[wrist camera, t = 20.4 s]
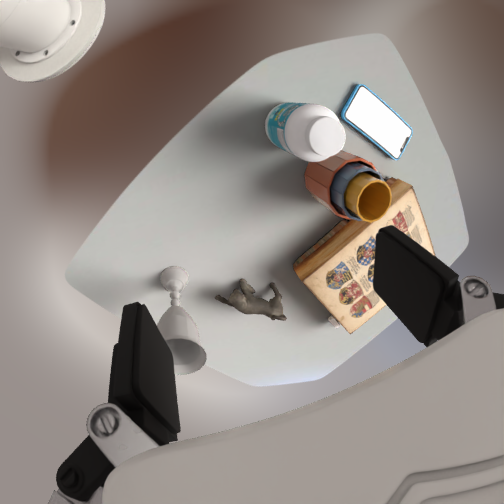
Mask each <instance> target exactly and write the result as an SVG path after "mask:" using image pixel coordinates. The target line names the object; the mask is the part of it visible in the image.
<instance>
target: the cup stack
mask: <svg viewBox="0 0 504 504" xmlns="http://www.w3.org/2000/svg"><path fill="white" fill-rule="evenodd" d="M359 172H366V173H368V174H370V175H372V176H374V177H376V178H378V179H380V180H382V181H384V179H383V177H382V175H381V174H380V173H379V172H377V170H376V168H375V167H374V165H373V164H372V163H371V162H369V161H367V160H364V159H362V158H360V157H358V156H355V155H352V154H350V153H347V152H345V151H342V150H340V151H339V152H338V153H337V154H335V155H333V156H330V157H329V158H327V159H325V160H323V161H319V162H309V163H308V165H307V168H306V171H305V174H304V175H305V184H306V189H307V190H308V191H309V192H310V194H311V195H312V196H313V198H315V199H316V200H317V201H319V202H320V203H321V204H322V205H324V206H325V207H326V208H328V209H329V210H330V211H331V212H333V213H334V214H335V215H336V216H339V217H342V218H345V219H348V220H350V219H354V220H357V221H362V219H360V218H359V217H357V216H356V215H355V214H353V213H352V212H351V211H349V210H348V209H346V208H345V207H344V192H345V190H346V187H347V185H348V183H349V181H350V180H351V179H352V178H353V177H354V176H355V175H357V174H358V173H359ZM384 182H385V181H384Z"/></svg>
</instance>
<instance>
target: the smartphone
mask: <svg viewBox="0 0 504 504" xmlns="http://www.w3.org/2000/svg"><path fill="white" fill-rule="evenodd" d="M341 118H342V119H343V120H344V121H345V122H347V123H348V124H350V125H351V126H352V127H354V128H355V129H356V130H357V131H359V132H360V133H361V134H363V135H364V136H365V137H367V138H368V139H369V140H370V141H372V142H373V143H374V144H375V145H376V146H378V147H379V148H380V149H381V150H383V151H384V152H385V153H386V154H387V155H388V156H390V157H391V158H392V159H394V160H398V159H400V157H401V155H402V153H403V151H404V149H405V148H406V146H407V144H408V142H409V140H410V138H411V136H412V134H413V130H412V128H411V127H410V126H409V125H408V124H407V123H406V122H405V121H404V120H403V119H402V118H401V117H400V116H399V115H398V114H397V113H396V112H395V111H394V110H393V109H391V108H390V107H389V106H388V105H387V104H386V103H385V102H384V101H383V100H382V99H380V98H379V97H378V96H377V95H376V94H375V93H374V92H372V91H371V90H370V89H369V88H368V87H366V86H365V85H363V84H358V85H357V86H356V87H355V89H354V90H353V92H352V94H351V96H350V97H349V99H348V101H347V103H346V105H345V106H344V108H343V110H342V112H341Z"/></svg>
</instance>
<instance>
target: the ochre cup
mask: <svg viewBox="0 0 504 504" xmlns="http://www.w3.org/2000/svg"><path fill="white" fill-rule="evenodd" d="M391 199H392V194H391V189H390V187H389V186H388V184H387V183H386V182H384V181H382V180H380V179H378V178H376V177H374V176H372V175H370V174H368V173H366V172H359V173H358V174H357V175H355V176H354V177H353V178H352V179H351V180H350V181H349V183H348V185H347V187H346V190H345V192H344V207H345V208H346V209H348V210H349V211H351V212H352V213H353V214H355V215H356V216H357V217H359V218H360V219H362V220H363V221H366V222H370V223H371V222H374V221H378V220H379V219H381V218H382V217H383V216H384V215H385V214H386V212H387V211H388V209H389V207H390V204H391Z"/></svg>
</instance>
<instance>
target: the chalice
mask: <svg viewBox="0 0 504 504" xmlns="http://www.w3.org/2000/svg"><path fill="white" fill-rule="evenodd" d="M160 280H161V283H162V285H163V286H164V287H165V289H166V290H167V291H168V292H170V297H171V299H173V300H171V305H172V306H171V307H170V308H169V309H168V310H167V311H166V312H165V313H164V314H163V316H162V317H161V319H160V321H159V322H158V324H157V327H158V329H159V331H160V333H161V334H162V336H163V338H164V340H165V341H166V343H167V345H168V346H169V348H170V350H171V352H172V355H173V360H174V372H175V374H177V375H179V374H180V375H184V374H190V373H193V372H195V371H197V370H199V369H200V368H201V367H202V366H203V365H204V364H205V362H206V353H205V351H204V349H203V348H202V347H201V344H200V337H199V331H198V327H197V325H196V323H195V322H194V320H193V319H192V317H191V316H190V315H189V314H188V313H187V312H186V311H185V310H184V309H183V308H182V307H180V304H181V302H180V300H178V299H180V297H181V295H180V292H182V291H183V290H184V289H185V287H186V285H187V284H188V281H189V276H188V273H187V272H186V271H185V270H184V269H182V268H181V267H177V266H172V267H169V268H167V269H165V270H164V271H163V272H162V273H161V277H160Z"/></svg>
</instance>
